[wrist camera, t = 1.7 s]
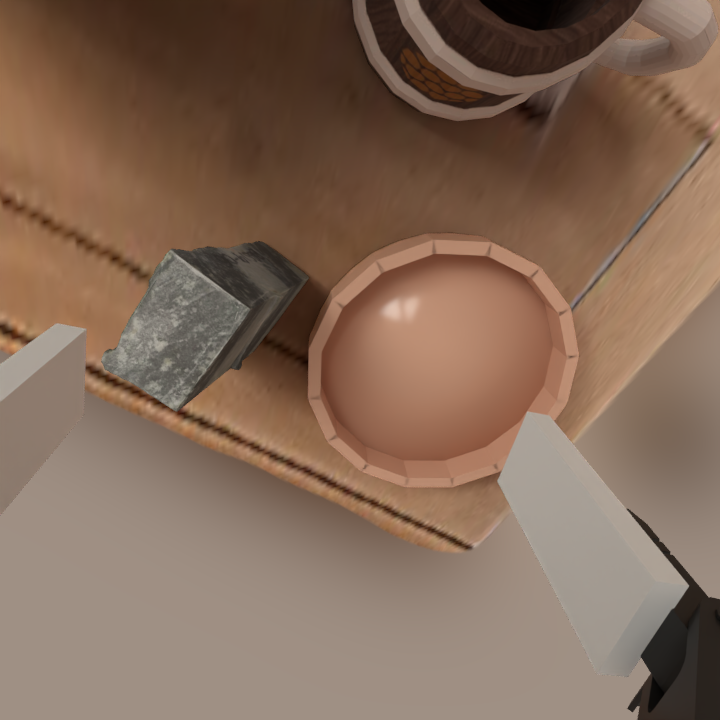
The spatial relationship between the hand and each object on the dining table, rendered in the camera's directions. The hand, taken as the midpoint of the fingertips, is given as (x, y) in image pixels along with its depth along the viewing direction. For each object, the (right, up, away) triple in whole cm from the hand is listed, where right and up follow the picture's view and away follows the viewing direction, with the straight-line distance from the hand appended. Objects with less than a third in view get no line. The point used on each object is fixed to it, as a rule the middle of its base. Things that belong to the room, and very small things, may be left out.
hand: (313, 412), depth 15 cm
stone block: (-9, +7, +25) cm, 28 cm away
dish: (+8, +2, +29) cm, 30 cm away
